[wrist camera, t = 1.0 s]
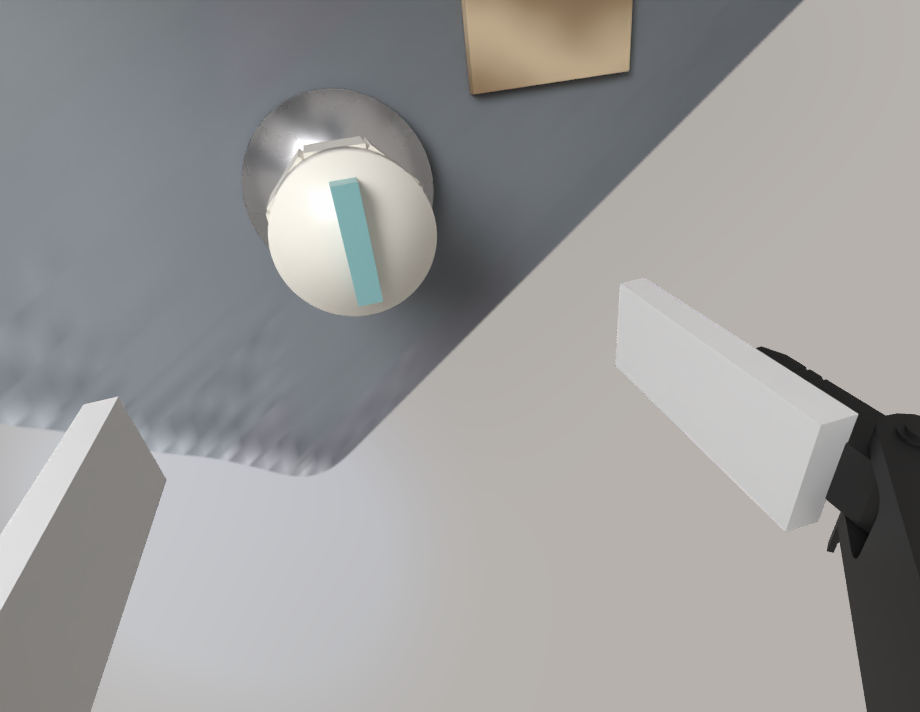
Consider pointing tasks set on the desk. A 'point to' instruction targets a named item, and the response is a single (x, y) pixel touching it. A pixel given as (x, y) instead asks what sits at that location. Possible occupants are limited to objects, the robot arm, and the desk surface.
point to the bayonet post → (319, 122)
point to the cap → (350, 228)
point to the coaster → (544, 41)
